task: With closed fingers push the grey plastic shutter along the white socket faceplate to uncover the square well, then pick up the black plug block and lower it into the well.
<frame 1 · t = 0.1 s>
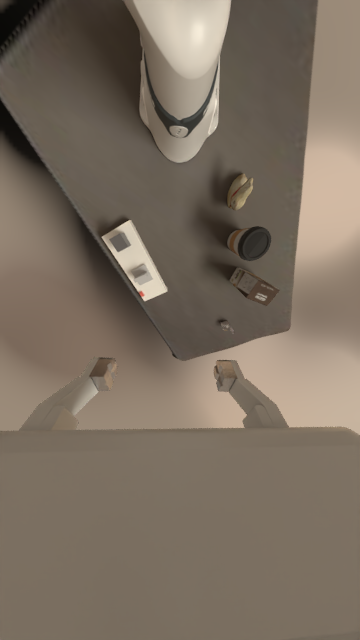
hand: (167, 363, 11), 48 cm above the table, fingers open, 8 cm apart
coffee box: (241, 277, 56), on the table
socket plate: (139, 265, 51), on the table
shutter: (141, 276, 49), point 5 cm above the table, slide at 0.0 cm
plug: (122, 241, 45), point 2 cm above the table, touching socket plate
coffee cup: (235, 240, 48), on the table
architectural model: (221, 330, 73), on the table
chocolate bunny: (235, 194, 41), on the table
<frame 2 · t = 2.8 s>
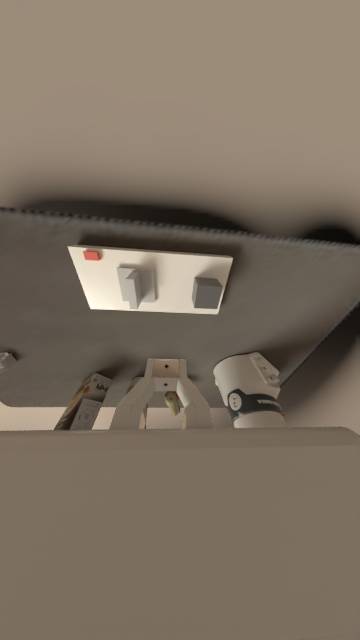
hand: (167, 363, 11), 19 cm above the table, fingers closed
coffee box: (97, 380, 46), on the table
socket plate: (156, 281, 26), on the table
shutter: (135, 289, 22), point 5 cm above the table, slide at 0.0 cm
plug: (203, 288, 25), point 2 cm above the table, touching socket plate
coffee cup: (140, 380, 47), on the table
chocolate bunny: (175, 384, 49), on the table
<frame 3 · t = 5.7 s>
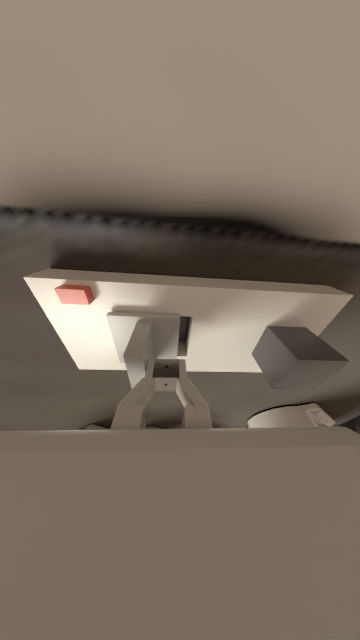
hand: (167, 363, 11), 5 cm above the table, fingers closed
socket plate: (190, 324, 15), on the table
shutter: (143, 355, 11), point 5 cm above the table, slide at 1.5 cm, touching gripper
plug: (276, 341, 14), point 2 cm above the table, touching socket plate
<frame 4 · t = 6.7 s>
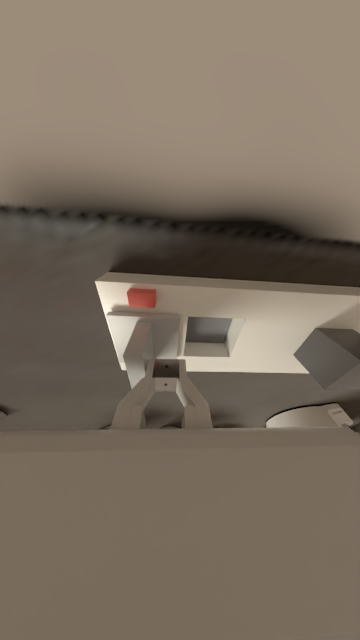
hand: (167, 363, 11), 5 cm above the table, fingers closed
socket plate: (231, 326, 16), on the table
shutter: (143, 355, 11), point 5 cm above the table, slide at 6.5 cm, touching gripper
plug: (320, 342, 14), point 2 cm above the table, touching socket plate
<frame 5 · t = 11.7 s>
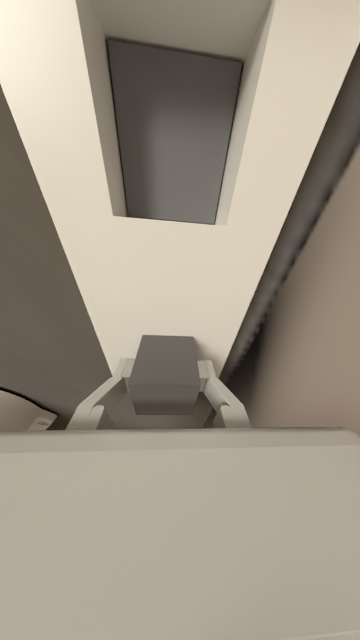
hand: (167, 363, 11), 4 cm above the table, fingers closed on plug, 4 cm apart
socket plate: (171, 228, 8), on the table
plug: (167, 352, 12), point 2 cm above the table, touching gripper, socket plate
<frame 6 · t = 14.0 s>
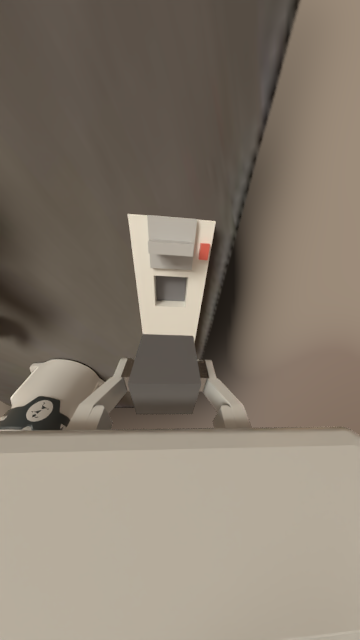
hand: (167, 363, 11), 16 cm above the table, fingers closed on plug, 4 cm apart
socket plate: (170, 302, 26), on the table
shutter: (171, 246, 16), point 5 cm above the table, slide at 7.0 cm
plug: (167, 352, 12), point 15 cm above the table, touching gripper
when the fingers open (3 cm above the table, at t = 16.2 s): plug drops 2 cm, resting on socket plate.
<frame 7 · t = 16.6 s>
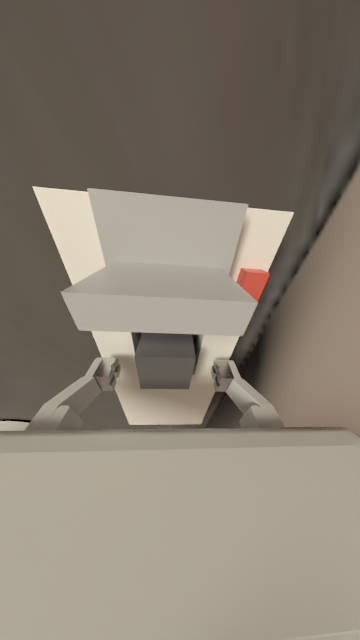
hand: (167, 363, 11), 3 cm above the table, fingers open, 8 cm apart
socket plate: (168, 356, 15), on the table
shutter: (167, 288, 5), point 5 cm above the table, slide at 7.0 cm
plug: (167, 337, 13), resting on socket plate
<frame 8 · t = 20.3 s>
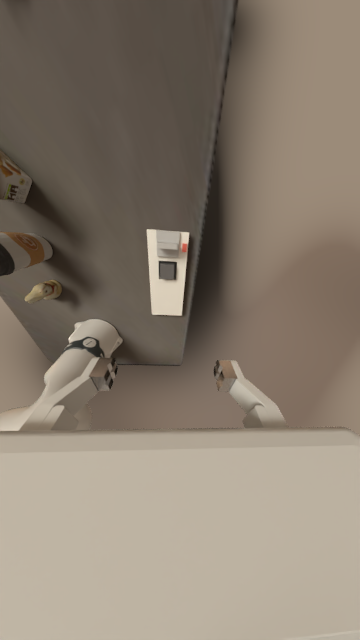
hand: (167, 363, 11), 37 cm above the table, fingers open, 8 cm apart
coffee box: (5, 171, 29), on the table
socket plate: (167, 278, 44), on the table
shutter: (167, 245, 34), point 5 cm above the table, slide at 7.0 cm
plug: (167, 268, 42), resting on socket plate
coffee cup: (41, 246, 38), on the table
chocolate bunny: (54, 288, 45), on the table
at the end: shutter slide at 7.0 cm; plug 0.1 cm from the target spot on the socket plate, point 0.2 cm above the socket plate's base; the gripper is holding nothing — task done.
